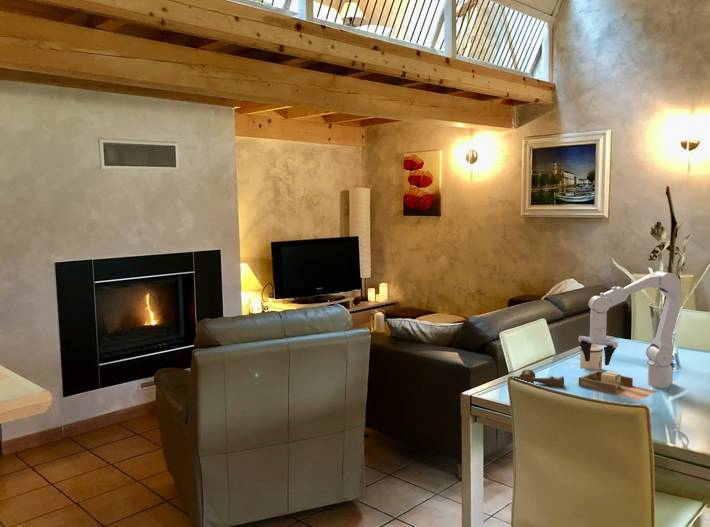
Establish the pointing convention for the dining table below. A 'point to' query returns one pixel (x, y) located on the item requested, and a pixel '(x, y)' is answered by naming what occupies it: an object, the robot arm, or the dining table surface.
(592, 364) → the teacup with lid
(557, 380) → the kendama
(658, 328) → the robot arm
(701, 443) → the dining table surface
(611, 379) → the maple block
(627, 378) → the brown wooden tray
